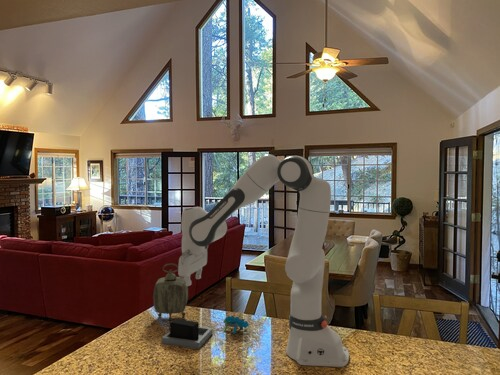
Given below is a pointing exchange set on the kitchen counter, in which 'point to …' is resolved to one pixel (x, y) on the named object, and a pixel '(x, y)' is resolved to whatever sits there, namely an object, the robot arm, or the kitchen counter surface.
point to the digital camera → (184, 329)
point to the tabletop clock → (170, 294)
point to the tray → (203, 337)
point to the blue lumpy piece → (235, 323)
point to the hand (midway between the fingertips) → (193, 281)
